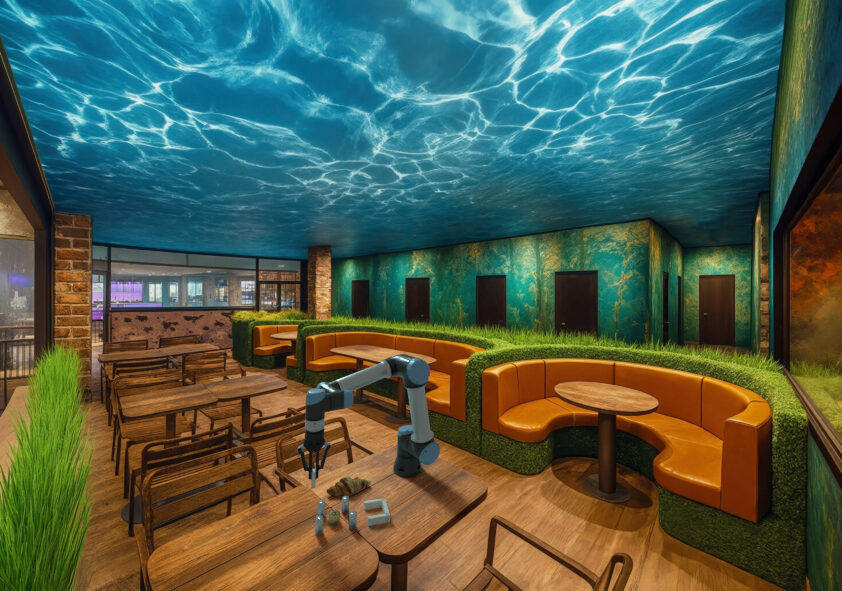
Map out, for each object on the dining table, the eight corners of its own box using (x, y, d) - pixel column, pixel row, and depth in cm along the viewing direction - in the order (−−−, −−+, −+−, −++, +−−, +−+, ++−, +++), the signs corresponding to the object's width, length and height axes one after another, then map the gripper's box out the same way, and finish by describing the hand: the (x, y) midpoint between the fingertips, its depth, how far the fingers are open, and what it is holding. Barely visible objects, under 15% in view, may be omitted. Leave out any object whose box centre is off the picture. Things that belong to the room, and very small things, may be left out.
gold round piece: (328, 519, 144) (328, 510, 144) (339, 517, 145) (339, 509, 145) (328, 526, 140) (328, 517, 140) (340, 524, 141) (340, 516, 141)
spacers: (315, 514, 147) (315, 500, 147) (353, 508, 152) (353, 494, 152) (315, 537, 134) (315, 521, 134) (356, 529, 138) (357, 515, 138)
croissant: (368, 490, 172) (366, 472, 175) (374, 490, 164) (372, 471, 167) (324, 499, 162) (323, 481, 165) (329, 500, 154) (328, 480, 157)
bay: (364, 507, 152) (364, 501, 152) (384, 504, 155) (384, 498, 155) (368, 526, 141) (368, 518, 141) (389, 522, 143) (390, 515, 143)
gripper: (297, 433, 134) (295, 494, 134) (331, 430, 137) (330, 489, 138) (298, 426, 141) (296, 483, 141) (331, 423, 145) (329, 479, 145)
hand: (313, 486), depth 140 cm, fingers closed
